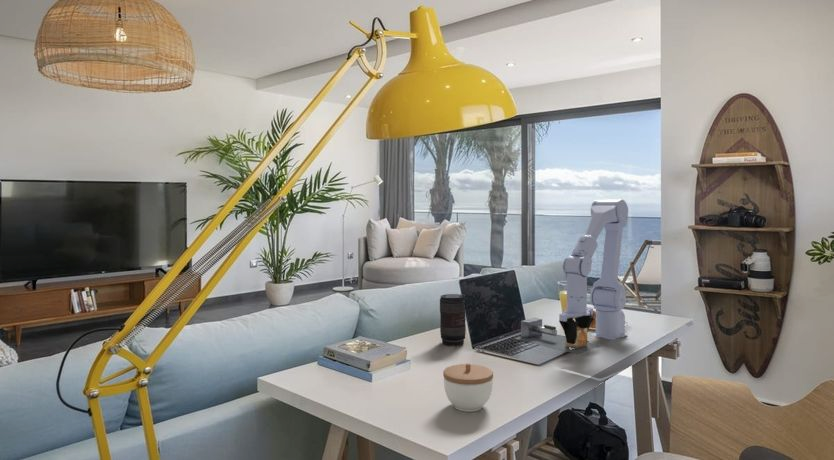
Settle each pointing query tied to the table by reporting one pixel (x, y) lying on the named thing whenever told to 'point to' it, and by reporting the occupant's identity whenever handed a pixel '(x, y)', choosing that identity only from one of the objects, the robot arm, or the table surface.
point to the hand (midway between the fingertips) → (576, 341)
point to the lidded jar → (468, 386)
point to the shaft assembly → (536, 328)
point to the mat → (557, 343)
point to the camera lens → (452, 319)
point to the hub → (579, 338)
